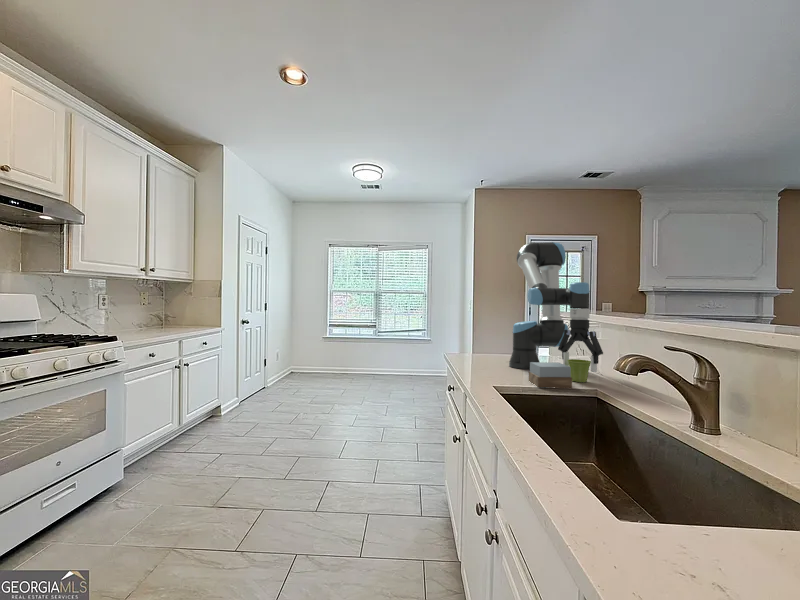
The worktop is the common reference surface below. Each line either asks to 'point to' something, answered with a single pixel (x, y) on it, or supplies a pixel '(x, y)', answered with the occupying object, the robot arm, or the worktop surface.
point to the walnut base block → (550, 381)
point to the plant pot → (579, 369)
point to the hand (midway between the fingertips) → (579, 369)
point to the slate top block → (550, 369)
